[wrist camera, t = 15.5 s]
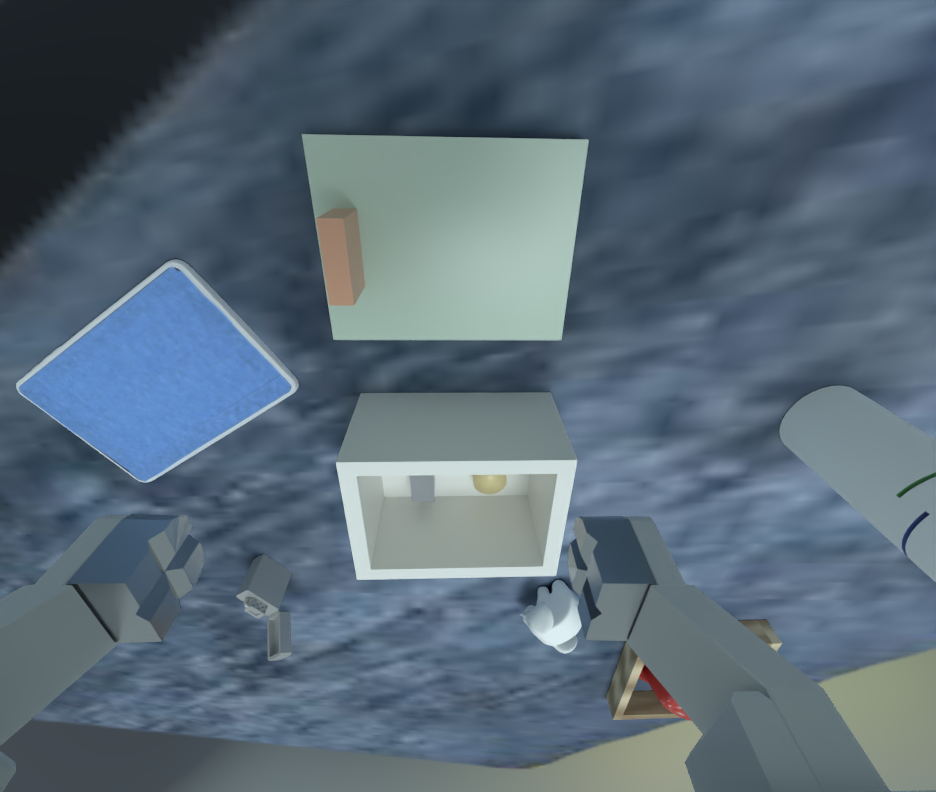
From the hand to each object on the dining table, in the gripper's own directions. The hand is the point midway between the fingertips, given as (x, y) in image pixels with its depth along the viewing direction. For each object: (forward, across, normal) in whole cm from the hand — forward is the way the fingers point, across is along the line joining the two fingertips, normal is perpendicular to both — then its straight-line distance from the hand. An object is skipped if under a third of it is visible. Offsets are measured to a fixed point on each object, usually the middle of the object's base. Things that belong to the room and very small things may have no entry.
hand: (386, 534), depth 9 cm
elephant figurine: (+24, -13, +38) cm, 47 cm away
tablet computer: (+25, +22, +11) cm, 35 cm away
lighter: (+24, +17, +35) cm, 46 cm away
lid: (+24, -1, 0) cm, 25 cm away
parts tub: (+24, -2, +17) cm, 30 cm away
